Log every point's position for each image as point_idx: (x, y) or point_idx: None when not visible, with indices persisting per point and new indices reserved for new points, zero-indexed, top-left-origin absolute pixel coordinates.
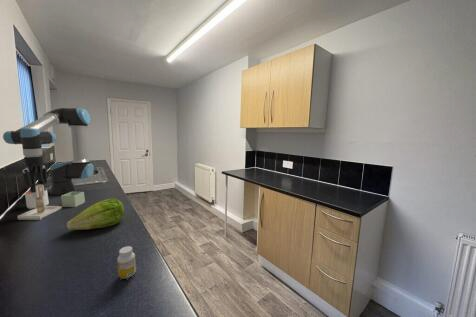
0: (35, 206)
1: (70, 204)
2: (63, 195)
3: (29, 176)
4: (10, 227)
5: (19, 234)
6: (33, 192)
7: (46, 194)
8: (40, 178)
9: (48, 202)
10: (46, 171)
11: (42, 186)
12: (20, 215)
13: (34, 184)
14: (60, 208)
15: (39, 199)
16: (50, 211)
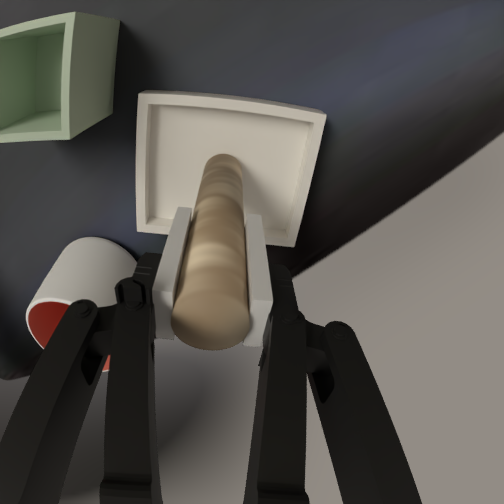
0: (134, 266)
1: (105, 54)
2: (55, 130)
3: (385, 466)
4: (383, 199)
5: (468, 111)
6: (283, 270)
7: (56, 279)
8: (149, 391)
9: (70, 244)
10: (8, 454)
11: (174, 274)
12: (292, 234)
13: (293, 333)
14: (153, 91)
15: (238, 204)
16: (240, 100)
